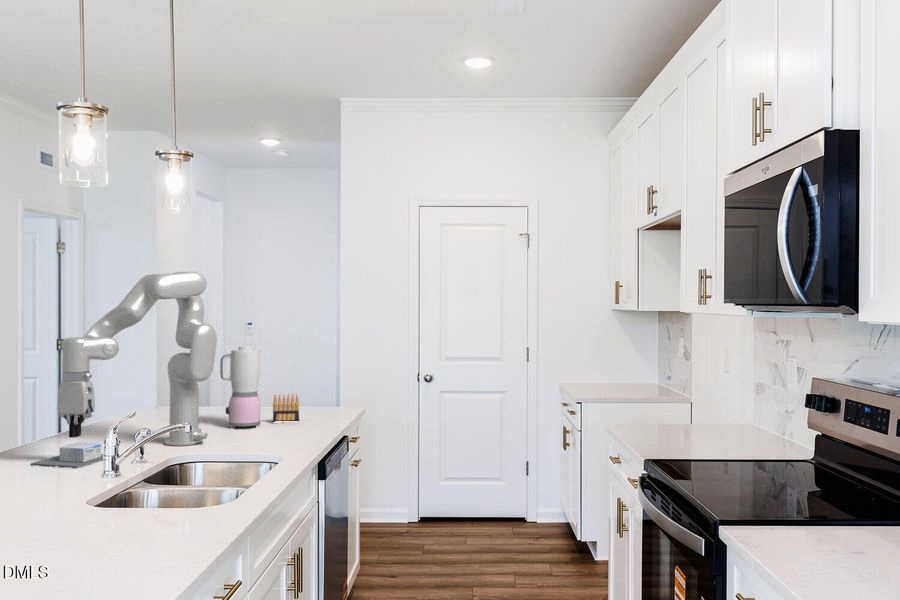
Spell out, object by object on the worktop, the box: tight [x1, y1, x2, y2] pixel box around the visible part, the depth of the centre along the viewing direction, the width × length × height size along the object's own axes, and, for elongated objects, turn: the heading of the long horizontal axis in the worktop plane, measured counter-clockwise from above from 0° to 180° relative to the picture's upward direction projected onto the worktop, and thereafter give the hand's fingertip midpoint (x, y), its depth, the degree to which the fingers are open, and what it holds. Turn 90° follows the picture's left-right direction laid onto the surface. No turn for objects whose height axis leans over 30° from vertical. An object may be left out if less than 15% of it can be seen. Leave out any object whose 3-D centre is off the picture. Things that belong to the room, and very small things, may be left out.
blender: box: [219, 345, 262, 429], centre depth 278 cm, size 16×12×32 cm
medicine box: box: [59, 441, 102, 463], centre depth 215 cm, size 8×4×9 cm
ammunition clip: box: [272, 393, 300, 423], centre depth 289 cm, size 11×2×12 cm, turn 101°
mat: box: [30, 453, 104, 469], centre depth 215 cm, size 16×16×1 cm
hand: (75, 436), depth 215 cm, fingers closed
